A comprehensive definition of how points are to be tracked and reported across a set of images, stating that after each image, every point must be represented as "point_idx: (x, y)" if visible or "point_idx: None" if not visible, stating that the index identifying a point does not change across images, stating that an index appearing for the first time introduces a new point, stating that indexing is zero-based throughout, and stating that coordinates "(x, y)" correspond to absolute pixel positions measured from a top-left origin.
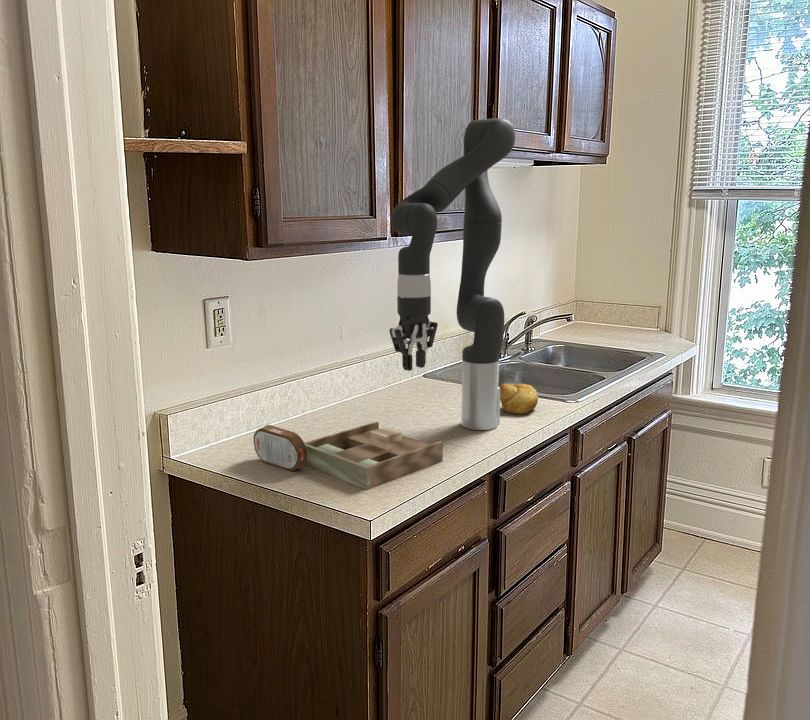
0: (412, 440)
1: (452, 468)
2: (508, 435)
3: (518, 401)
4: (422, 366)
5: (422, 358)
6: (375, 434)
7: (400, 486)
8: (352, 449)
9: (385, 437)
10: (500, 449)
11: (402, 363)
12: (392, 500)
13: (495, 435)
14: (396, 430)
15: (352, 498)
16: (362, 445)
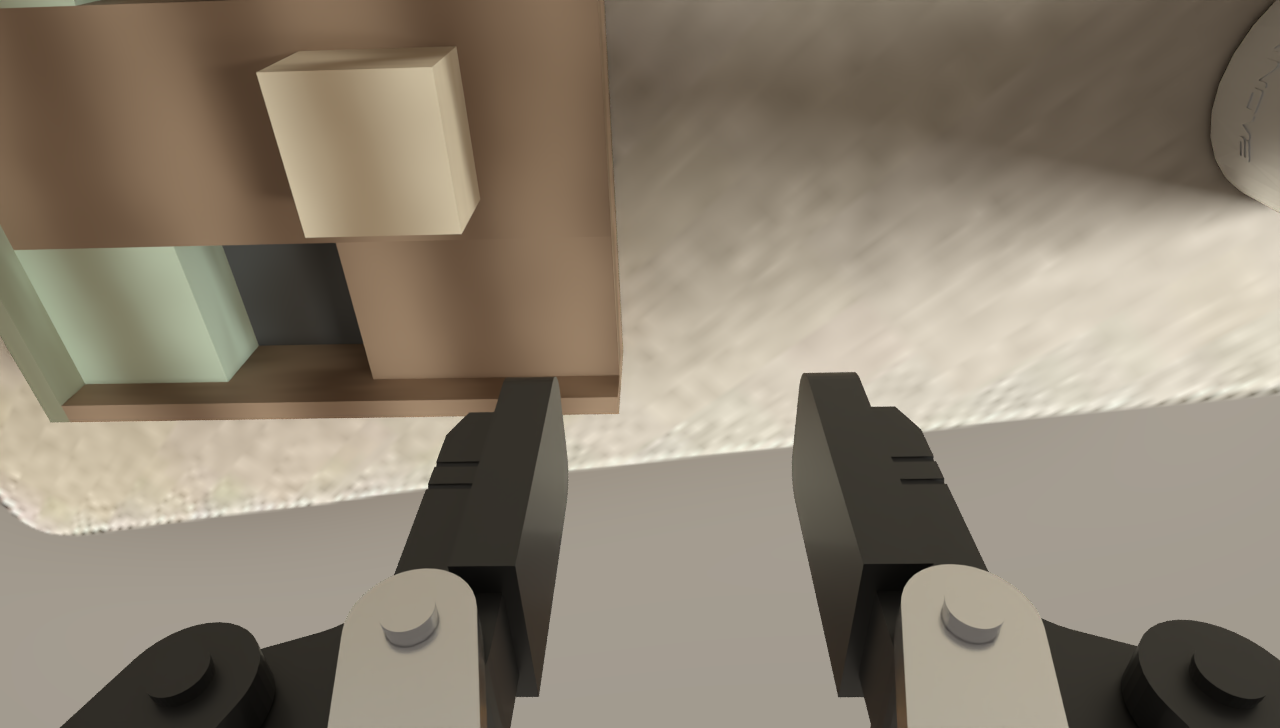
0: (584, 189)
1: (589, 432)
2: (1202, 330)
3: None
4: (793, 488)
5: (816, 587)
6: (276, 130)
7: (271, 423)
8: (135, 41)
9: (306, 232)
10: (953, 425)
11: (438, 459)
12: (176, 486)
13: (1168, 283)
14: (447, 185)
15: (24, 385)
16: (236, 23)
